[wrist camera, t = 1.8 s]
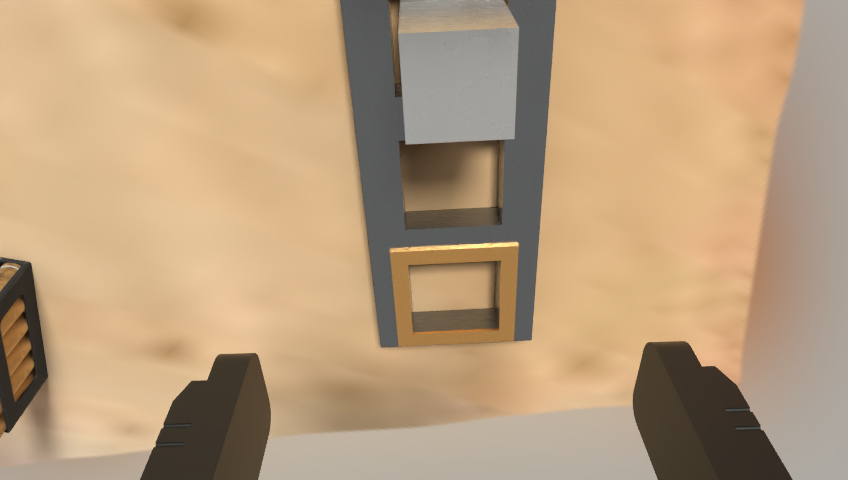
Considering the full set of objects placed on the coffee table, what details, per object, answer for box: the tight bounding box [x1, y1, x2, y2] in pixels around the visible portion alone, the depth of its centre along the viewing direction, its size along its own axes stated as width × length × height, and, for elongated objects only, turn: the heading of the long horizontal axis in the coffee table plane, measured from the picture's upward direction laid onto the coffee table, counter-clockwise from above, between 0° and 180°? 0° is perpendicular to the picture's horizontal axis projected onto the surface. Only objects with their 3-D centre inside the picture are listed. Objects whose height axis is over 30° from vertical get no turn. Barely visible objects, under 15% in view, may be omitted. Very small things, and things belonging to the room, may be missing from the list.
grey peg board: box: [340, 0, 556, 347], centre depth 34 cm, size 24×10×2 cm, turn 3°
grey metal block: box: [398, 0, 519, 144], centre depth 27 cm, size 4×4×9 cm
